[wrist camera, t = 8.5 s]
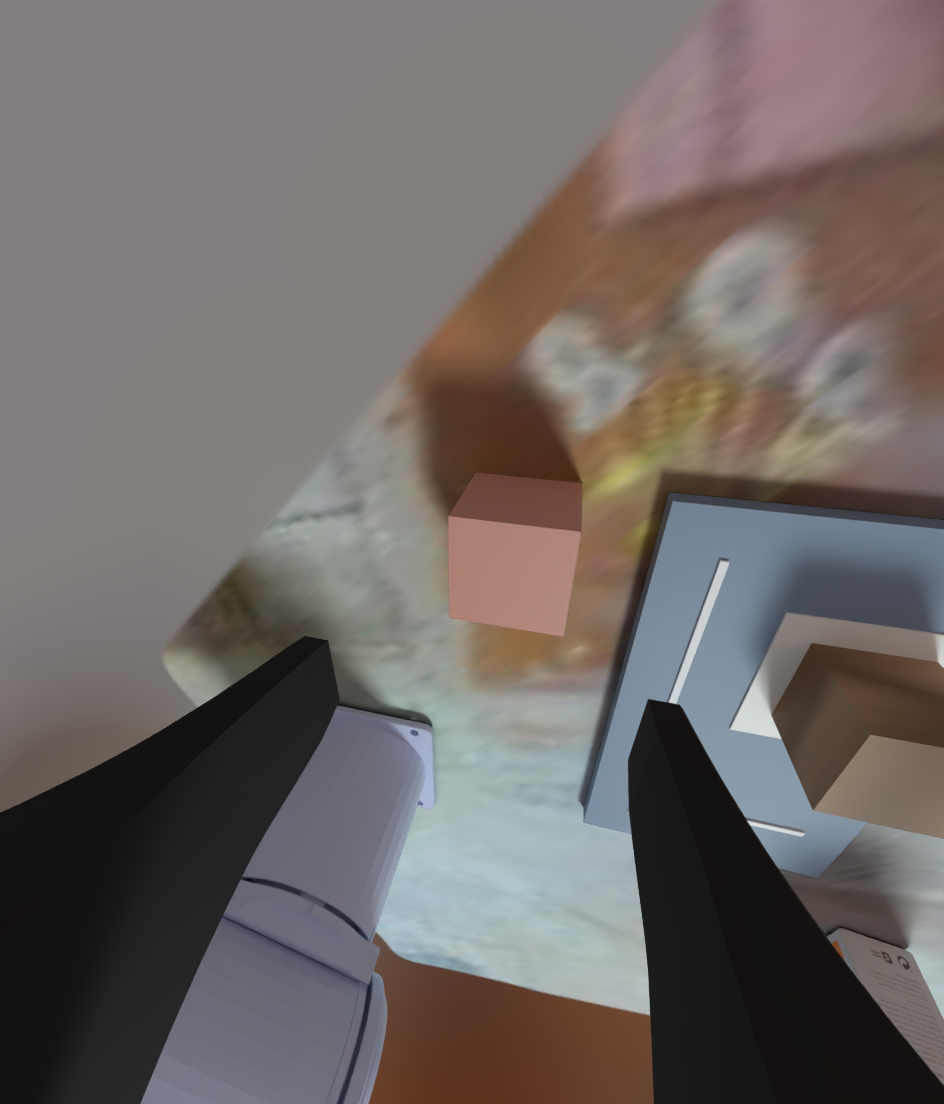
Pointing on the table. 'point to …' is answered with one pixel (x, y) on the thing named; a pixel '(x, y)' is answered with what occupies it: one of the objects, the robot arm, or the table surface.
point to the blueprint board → (765, 645)
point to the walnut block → (868, 736)
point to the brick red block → (514, 552)
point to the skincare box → (897, 992)
